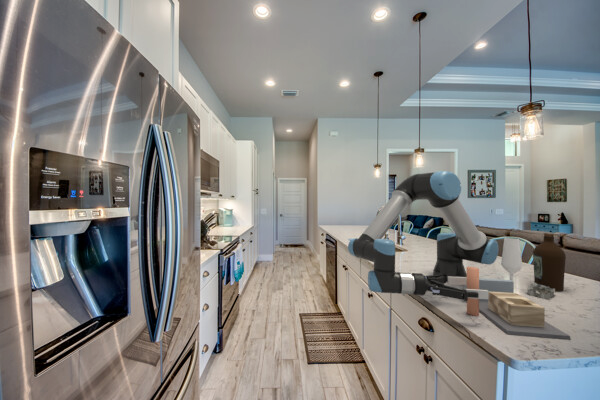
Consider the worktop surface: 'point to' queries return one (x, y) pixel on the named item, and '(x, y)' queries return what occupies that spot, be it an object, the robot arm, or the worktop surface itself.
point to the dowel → (473, 284)
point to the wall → (495, 286)
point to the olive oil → (549, 264)
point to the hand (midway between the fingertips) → (476, 287)
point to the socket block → (516, 309)
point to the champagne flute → (511, 256)
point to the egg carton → (540, 291)
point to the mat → (545, 331)
